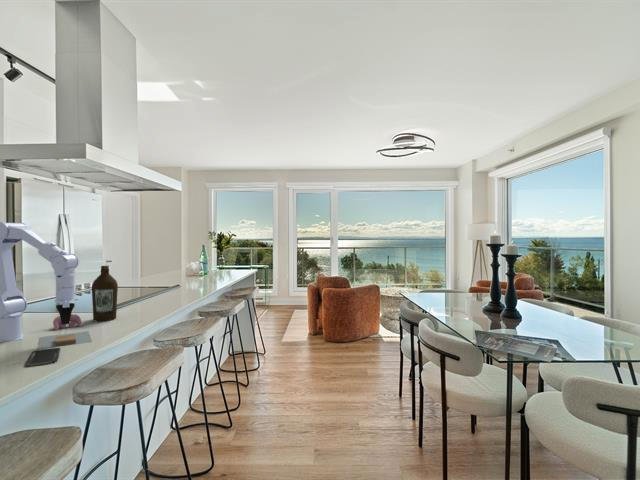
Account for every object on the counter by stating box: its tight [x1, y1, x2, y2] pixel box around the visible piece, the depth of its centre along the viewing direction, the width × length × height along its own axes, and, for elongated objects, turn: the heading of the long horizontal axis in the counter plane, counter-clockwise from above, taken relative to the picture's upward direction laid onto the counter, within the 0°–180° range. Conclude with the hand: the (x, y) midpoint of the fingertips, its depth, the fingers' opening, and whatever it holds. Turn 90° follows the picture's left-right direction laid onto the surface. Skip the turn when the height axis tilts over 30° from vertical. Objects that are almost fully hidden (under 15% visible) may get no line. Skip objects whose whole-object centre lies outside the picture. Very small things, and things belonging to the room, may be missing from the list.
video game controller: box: [52, 313, 83, 331], centre depth 157 cm, size 10×5×7 cm, turn 135°
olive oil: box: [91, 265, 119, 322], centre depth 173 cm, size 11×11×25 cm
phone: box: [25, 347, 62, 368], centre depth 120 cm, size 8×1×15 cm
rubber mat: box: [37, 330, 93, 350], centre depth 139 cm, size 18×16×1 cm
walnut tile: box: [55, 334, 76, 347], centre depth 135 cm, size 2×6×8 cm
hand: (65, 323), depth 136 cm, fingers closed
